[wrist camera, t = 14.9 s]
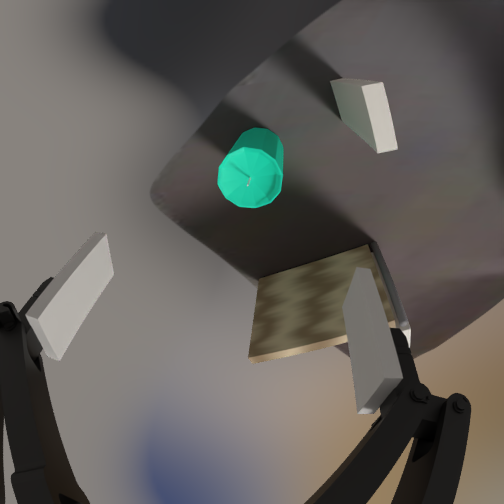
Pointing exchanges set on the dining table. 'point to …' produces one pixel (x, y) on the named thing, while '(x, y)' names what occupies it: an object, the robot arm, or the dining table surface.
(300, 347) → the door
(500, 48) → the dining table surface
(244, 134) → the candle
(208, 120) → the dining table surface
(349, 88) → the door frame
